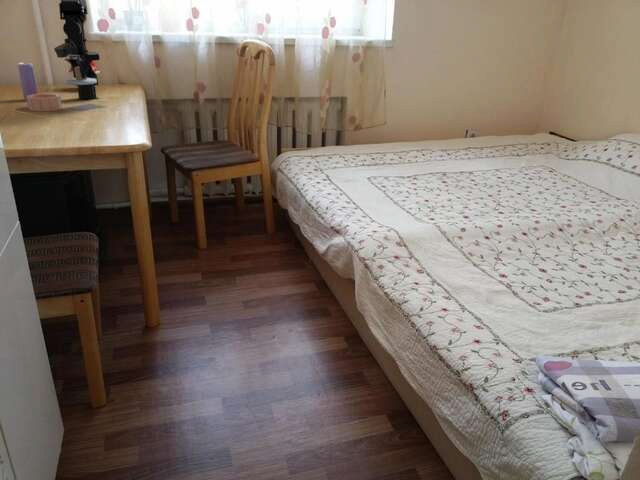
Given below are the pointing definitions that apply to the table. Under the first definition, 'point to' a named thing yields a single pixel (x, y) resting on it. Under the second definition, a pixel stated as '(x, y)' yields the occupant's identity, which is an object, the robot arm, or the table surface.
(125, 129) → the table surface
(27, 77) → the purple rectangular block
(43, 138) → the table surface
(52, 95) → the bowl
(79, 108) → the mat
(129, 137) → the table surface
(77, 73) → the lid
